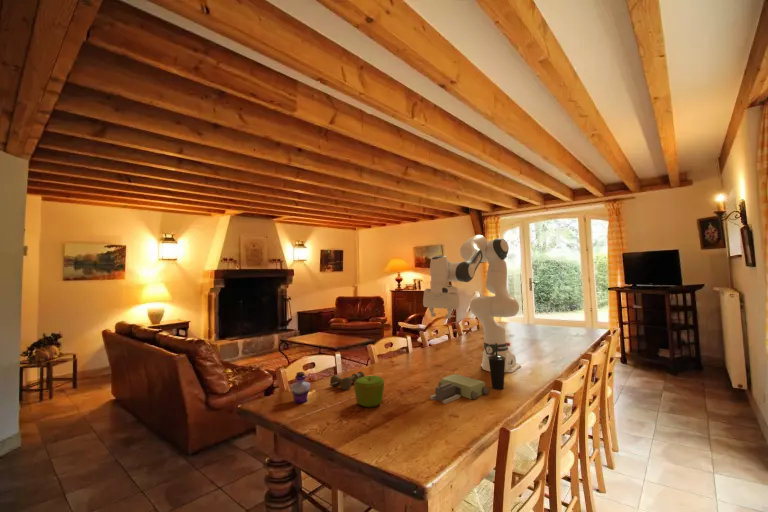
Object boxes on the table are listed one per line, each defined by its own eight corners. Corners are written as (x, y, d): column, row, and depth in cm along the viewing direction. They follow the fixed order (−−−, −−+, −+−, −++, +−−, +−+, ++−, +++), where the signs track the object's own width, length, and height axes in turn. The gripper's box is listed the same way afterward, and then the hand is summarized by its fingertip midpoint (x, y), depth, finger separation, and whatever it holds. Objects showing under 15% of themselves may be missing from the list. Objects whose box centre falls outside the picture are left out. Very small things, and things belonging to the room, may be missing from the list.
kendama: (368, 384, 168) (336, 394, 153) (355, 380, 174) (323, 389, 160) (368, 371, 168) (336, 380, 154) (355, 368, 175) (323, 376, 160)
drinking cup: (487, 389, 154) (485, 344, 155) (490, 384, 161) (489, 341, 162) (505, 391, 151) (503, 345, 152) (508, 386, 157) (506, 342, 158)
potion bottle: (314, 398, 148) (314, 370, 149) (305, 405, 140) (304, 376, 141) (296, 397, 151) (296, 369, 151) (286, 404, 142) (285, 374, 143)
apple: (368, 396, 149) (368, 370, 149) (391, 402, 141) (390, 374, 142) (348, 405, 139) (347, 377, 140) (370, 413, 131) (370, 382, 132)
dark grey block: (448, 395, 149) (447, 381, 149) (455, 397, 146) (455, 383, 146) (435, 399, 144) (435, 385, 144) (443, 402, 141) (442, 388, 141)
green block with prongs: (453, 383, 163) (453, 373, 163) (489, 393, 148) (488, 382, 149) (420, 395, 149) (420, 383, 149) (456, 408, 134) (455, 395, 134)
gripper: (419, 288, 173) (420, 316, 172) (452, 289, 157) (453, 320, 157) (428, 288, 177) (429, 315, 176) (460, 288, 161) (461, 318, 161)
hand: (440, 317), depth 166 cm, fingers open, 8 cm apart
